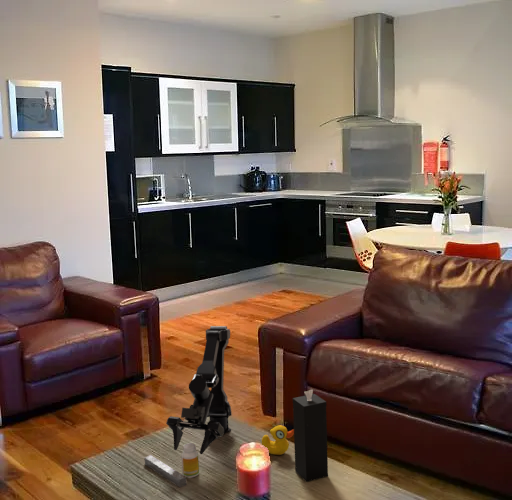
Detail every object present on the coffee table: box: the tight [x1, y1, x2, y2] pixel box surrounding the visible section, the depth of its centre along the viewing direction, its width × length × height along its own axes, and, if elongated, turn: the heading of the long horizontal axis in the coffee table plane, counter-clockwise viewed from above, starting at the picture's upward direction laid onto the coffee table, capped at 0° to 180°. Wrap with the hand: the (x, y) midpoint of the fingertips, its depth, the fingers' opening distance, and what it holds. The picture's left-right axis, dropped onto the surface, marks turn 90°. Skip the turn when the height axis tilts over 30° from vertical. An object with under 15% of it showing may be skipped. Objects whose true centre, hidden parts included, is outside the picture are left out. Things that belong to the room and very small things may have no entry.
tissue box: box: [292, 389, 329, 482], centre depth 199 cm, size 8×8×28 cm
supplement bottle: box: [180, 442, 200, 479], centre depth 203 cm, size 5×5×10 cm
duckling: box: [261, 424, 294, 456], centre depth 215 cm, size 11×5×10 cm, turn 81°
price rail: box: [143, 454, 187, 488], centre depth 204 cm, size 3×21×2 cm, turn 40°
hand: (187, 451), depth 202 cm, fingers open, 9 cm apart
